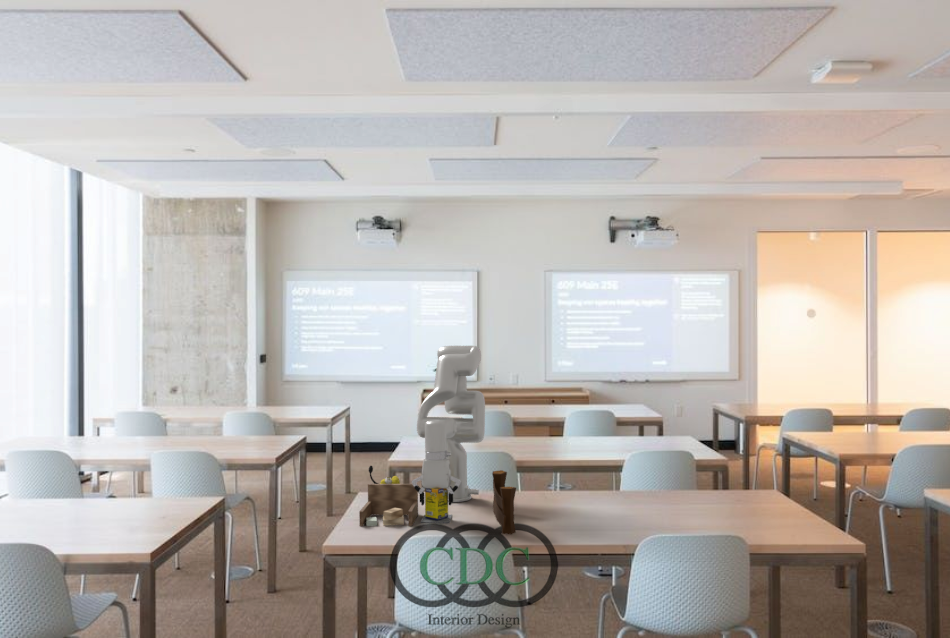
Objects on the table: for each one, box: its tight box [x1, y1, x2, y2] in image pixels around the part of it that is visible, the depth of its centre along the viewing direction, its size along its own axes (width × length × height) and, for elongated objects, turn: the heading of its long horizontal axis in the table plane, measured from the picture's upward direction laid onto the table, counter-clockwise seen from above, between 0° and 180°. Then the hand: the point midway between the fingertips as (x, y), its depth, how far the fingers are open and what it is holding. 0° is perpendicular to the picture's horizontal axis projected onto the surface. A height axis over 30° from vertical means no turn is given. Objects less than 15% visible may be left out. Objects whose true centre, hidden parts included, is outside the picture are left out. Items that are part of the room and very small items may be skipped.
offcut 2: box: [382, 508, 404, 520], centre depth 259 cm, size 6×4×2 cm, turn 144°
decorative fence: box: [492, 470, 517, 535], centre depth 259 cm, size 34×6×15 cm, turn 4°
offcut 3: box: [382, 515, 405, 527], centre depth 259 cm, size 7×4×2 cm, turn 99°
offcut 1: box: [365, 516, 378, 527], centre depth 259 cm, size 4×5×2 cm
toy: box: [368, 465, 401, 484], centre depth 290 cm, size 6×14×15 cm
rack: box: [358, 483, 419, 527], centre depth 264 cm, size 18×16×11 cm
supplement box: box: [424, 488, 449, 521], centre depth 264 cm, size 6×6×11 cm
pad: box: [420, 514, 453, 524], centre depth 264 cm, size 10×10×1 cm
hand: (436, 504), depth 264 cm, fingers open, 9 cm apart
